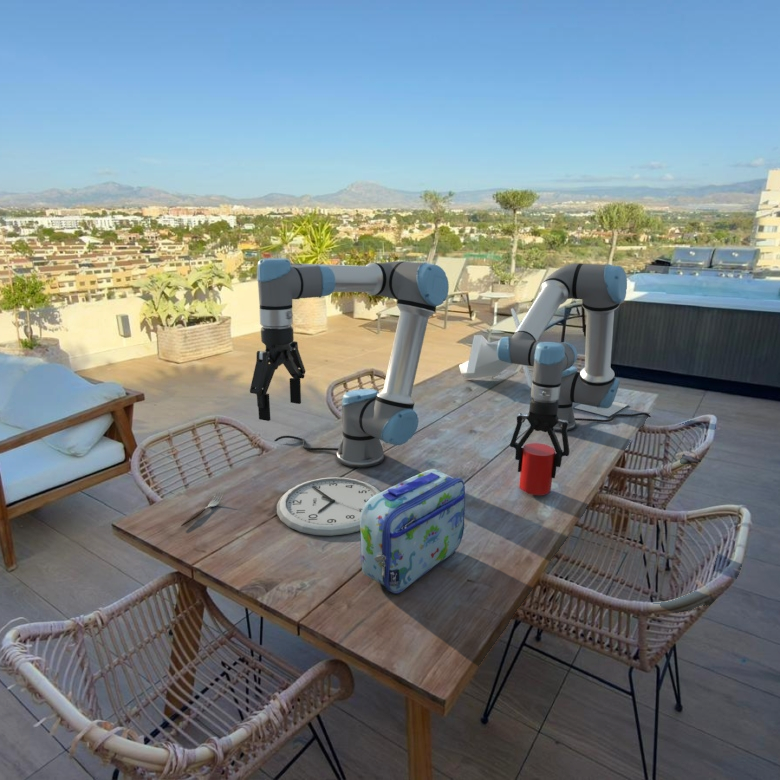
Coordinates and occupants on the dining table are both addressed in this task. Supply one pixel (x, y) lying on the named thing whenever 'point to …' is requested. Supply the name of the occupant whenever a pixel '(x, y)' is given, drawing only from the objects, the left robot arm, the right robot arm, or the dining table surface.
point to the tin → (537, 468)
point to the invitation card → (603, 411)
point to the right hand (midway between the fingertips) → (536, 473)
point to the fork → (211, 504)
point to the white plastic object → (488, 359)
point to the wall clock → (325, 506)
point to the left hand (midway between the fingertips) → (280, 411)
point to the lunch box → (411, 528)
